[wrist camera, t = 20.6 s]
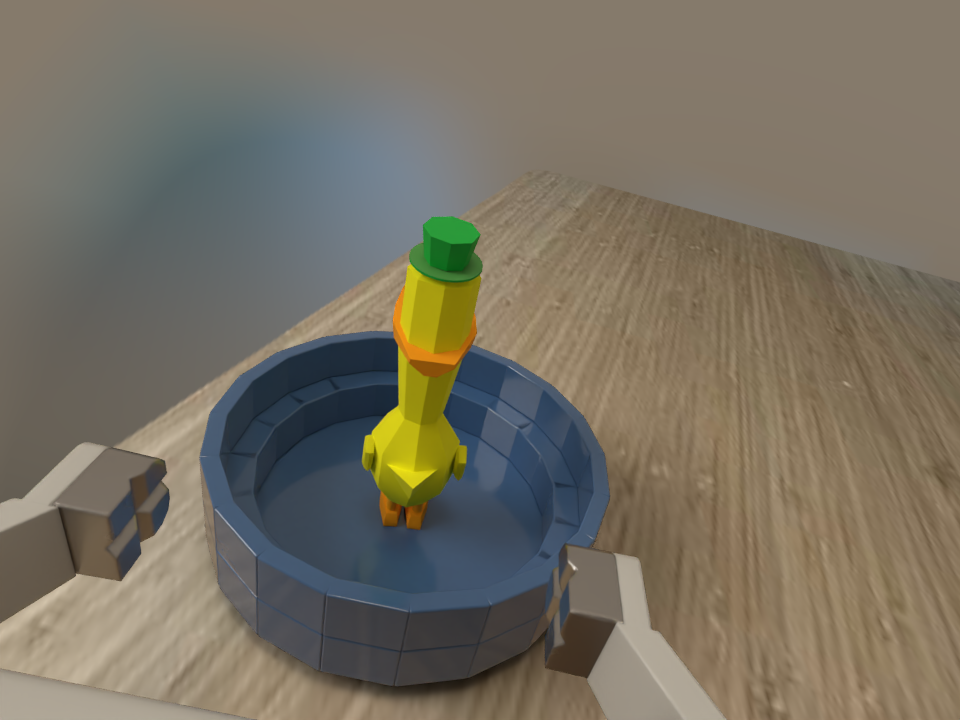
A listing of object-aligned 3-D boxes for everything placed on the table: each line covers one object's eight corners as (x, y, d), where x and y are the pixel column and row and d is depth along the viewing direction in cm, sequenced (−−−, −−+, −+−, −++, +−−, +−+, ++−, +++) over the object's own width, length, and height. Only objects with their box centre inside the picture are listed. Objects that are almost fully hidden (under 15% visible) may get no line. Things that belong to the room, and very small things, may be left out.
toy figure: (368, 443, 26) (400, 171, 20) (448, 452, 27) (505, 189, 20) (346, 572, 21) (382, 252, 14) (449, 581, 21) (527, 274, 15)
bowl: (122, 647, 18) (100, 548, 16) (292, 383, 30) (294, 305, 28) (583, 741, 18) (630, 658, 16) (569, 442, 30) (595, 369, 28)
